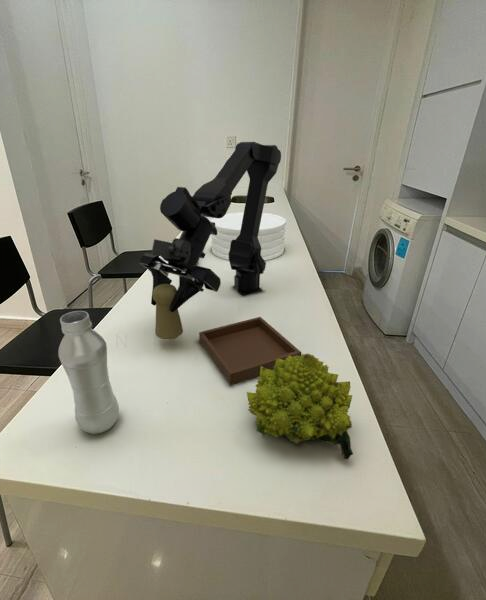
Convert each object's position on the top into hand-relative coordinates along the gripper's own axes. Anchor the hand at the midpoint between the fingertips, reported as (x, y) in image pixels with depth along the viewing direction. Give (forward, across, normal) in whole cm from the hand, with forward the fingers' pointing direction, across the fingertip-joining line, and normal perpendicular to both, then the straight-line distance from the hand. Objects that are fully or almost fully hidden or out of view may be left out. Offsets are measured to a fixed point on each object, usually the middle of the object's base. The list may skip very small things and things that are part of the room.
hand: (161, 308), depth 68 cm
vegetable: (+9, +32, +4) cm, 34 cm away
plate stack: (-40, -20, +55) cm, 70 cm away
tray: (+1, +16, +13) cm, 20 cm away
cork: (+4, 0, +6) cm, 7 cm away
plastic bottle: (+22, +6, -9) cm, 25 cm away
